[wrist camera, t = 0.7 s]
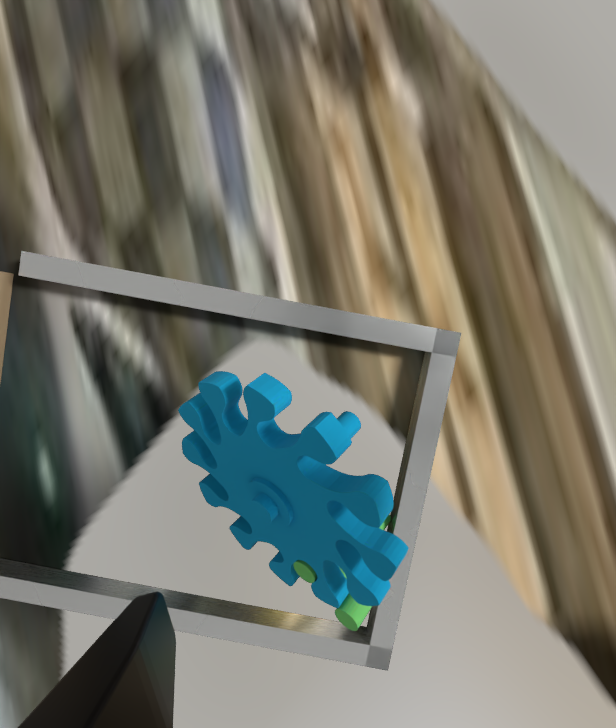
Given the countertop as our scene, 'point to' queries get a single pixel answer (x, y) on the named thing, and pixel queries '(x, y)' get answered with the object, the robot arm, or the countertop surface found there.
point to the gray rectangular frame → (237, 618)
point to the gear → (295, 492)
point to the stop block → (4, 310)
